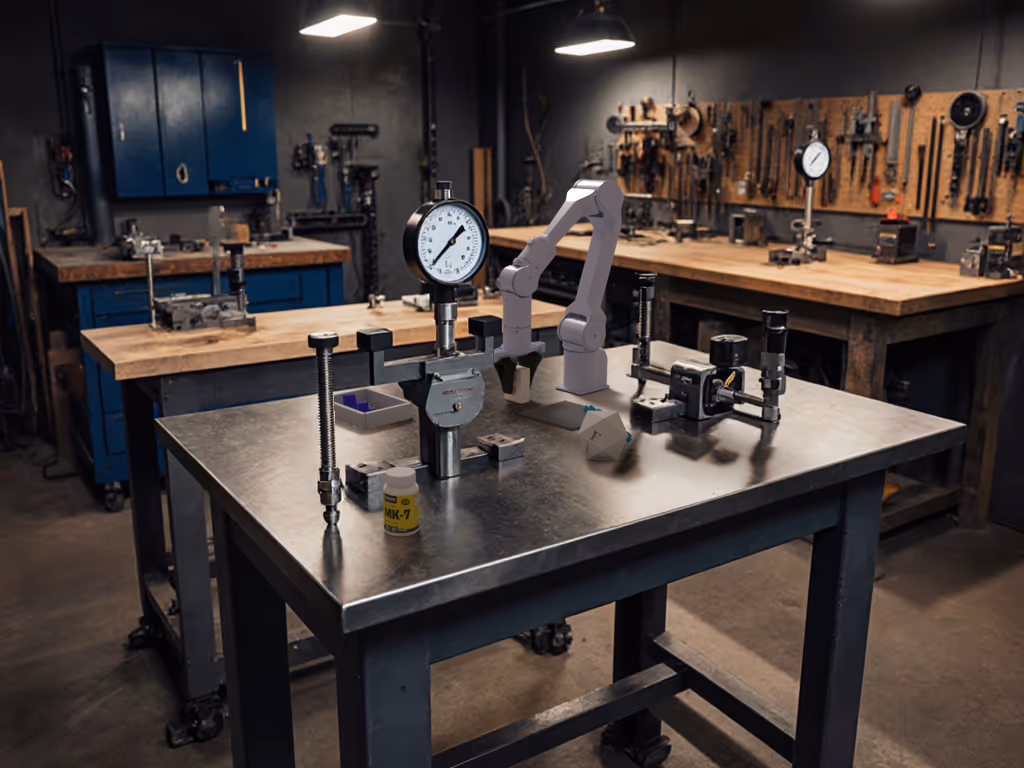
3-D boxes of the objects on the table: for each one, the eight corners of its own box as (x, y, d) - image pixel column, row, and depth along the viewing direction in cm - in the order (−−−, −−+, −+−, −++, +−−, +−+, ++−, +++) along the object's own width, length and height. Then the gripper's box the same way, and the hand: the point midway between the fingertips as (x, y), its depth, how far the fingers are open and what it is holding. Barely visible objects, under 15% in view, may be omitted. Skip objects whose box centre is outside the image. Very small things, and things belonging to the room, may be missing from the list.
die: (566, 456, 149) (567, 423, 142) (596, 423, 153) (598, 389, 146) (606, 481, 146) (608, 449, 138) (635, 447, 150) (639, 414, 142)
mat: (565, 402, 179) (565, 400, 179) (618, 416, 169) (618, 414, 169) (519, 414, 170) (519, 412, 170) (572, 430, 161) (572, 428, 160)
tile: (512, 396, 183) (512, 363, 181) (529, 401, 180) (529, 368, 178) (503, 398, 182) (503, 365, 180) (520, 403, 178) (520, 370, 176)
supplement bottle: (379, 536, 116) (377, 476, 114) (389, 521, 121) (387, 464, 119) (414, 538, 115) (413, 478, 113) (423, 524, 120) (422, 466, 118)
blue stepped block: (376, 421, 166) (375, 401, 165) (359, 424, 165) (358, 403, 164) (360, 411, 173) (359, 391, 172) (343, 413, 171) (342, 394, 170)
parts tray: (367, 401, 179) (367, 387, 178) (414, 417, 168) (413, 402, 167) (318, 412, 171) (317, 397, 171) (363, 430, 160) (362, 414, 160)
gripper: (528, 318, 184) (528, 381, 188) (477, 327, 175) (477, 393, 178) (553, 323, 179) (552, 387, 183) (501, 332, 170) (501, 400, 173)
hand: (516, 390), depth 180 cm, fingers open, 5 cm apart
